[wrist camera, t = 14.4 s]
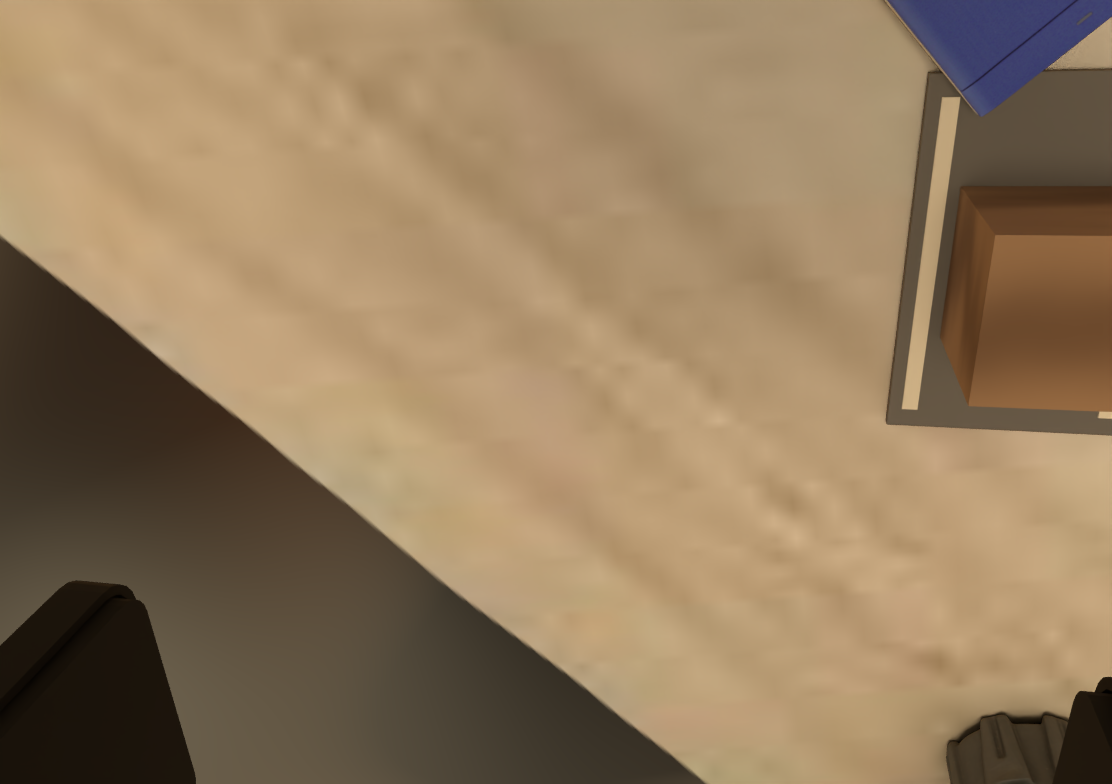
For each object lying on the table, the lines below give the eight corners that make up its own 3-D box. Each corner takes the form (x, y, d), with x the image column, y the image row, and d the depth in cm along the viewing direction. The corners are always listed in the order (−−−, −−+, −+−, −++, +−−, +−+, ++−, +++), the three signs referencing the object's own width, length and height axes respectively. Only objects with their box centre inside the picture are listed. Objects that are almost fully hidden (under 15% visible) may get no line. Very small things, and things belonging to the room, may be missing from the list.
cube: (960, 186, 35) (995, 235, 30) (1140, 186, 34) (1209, 236, 29) (939, 337, 38) (968, 406, 32) (1105, 341, 37) (1162, 413, 31)
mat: (928, 71, 34) (930, 74, 34) (1209, 67, 32) (1215, 69, 32) (885, 419, 40) (887, 425, 40) (1119, 431, 38) (1124, 437, 38)
